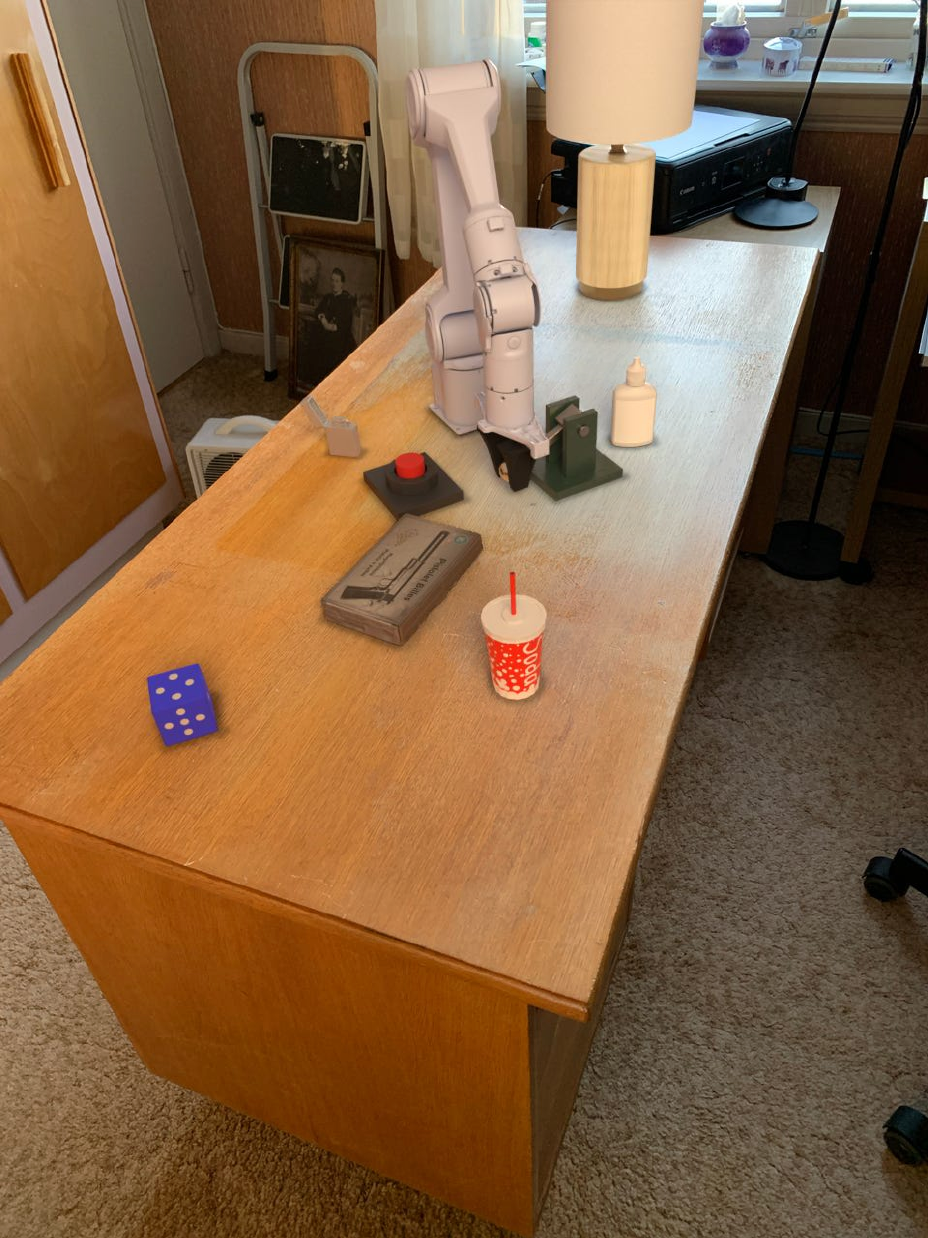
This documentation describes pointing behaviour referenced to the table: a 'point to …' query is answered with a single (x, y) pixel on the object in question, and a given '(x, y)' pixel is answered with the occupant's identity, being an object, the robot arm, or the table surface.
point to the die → (181, 704)
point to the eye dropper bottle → (633, 409)
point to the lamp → (618, 120)
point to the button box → (413, 489)
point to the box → (401, 578)
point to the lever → (547, 435)
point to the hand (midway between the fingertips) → (512, 481)
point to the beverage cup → (514, 642)
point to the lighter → (334, 429)
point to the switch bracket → (573, 454)
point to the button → (410, 465)
